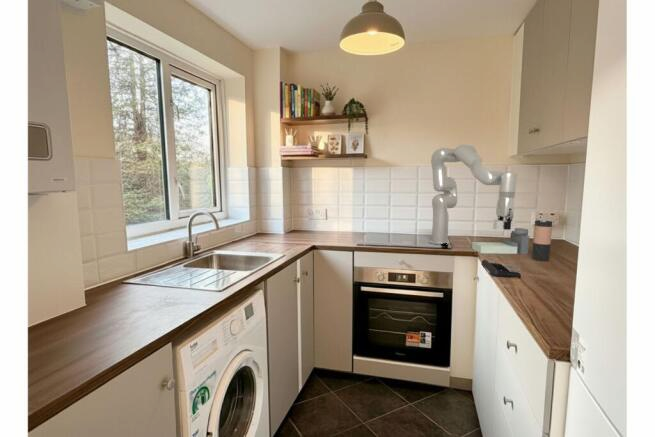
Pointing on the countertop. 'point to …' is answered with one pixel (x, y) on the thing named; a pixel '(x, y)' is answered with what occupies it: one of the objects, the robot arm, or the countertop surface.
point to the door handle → (496, 268)
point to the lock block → (502, 225)
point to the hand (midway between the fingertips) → (503, 228)
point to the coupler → (506, 244)
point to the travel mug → (542, 240)
